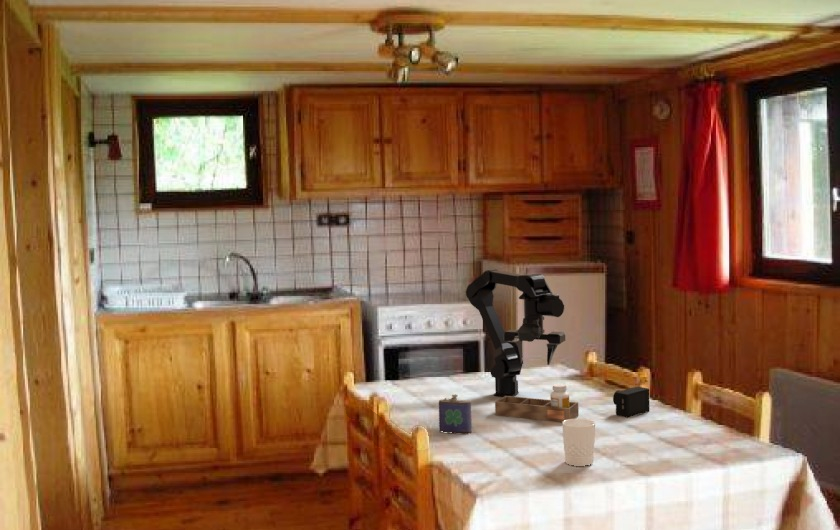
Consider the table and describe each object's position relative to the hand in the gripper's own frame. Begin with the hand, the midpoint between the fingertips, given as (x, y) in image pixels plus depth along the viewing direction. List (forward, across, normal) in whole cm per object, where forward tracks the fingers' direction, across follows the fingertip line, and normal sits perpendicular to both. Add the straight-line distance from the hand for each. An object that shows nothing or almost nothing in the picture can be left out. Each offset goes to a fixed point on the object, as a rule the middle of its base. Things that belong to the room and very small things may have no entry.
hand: (534, 363), depth 279 cm
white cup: (+12, +32, -54) cm, 64 cm away
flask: (+12, -8, -41) cm, 44 cm away
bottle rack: (+12, +6, -16) cm, 21 cm away
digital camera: (+12, +31, -3) cm, 34 cm away
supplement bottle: (+12, +14, -16) cm, 24 cm away
